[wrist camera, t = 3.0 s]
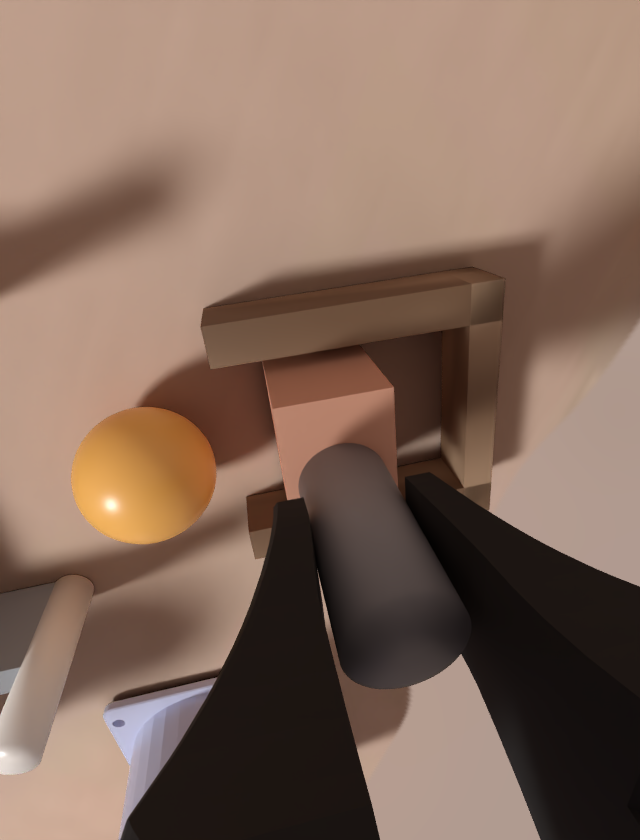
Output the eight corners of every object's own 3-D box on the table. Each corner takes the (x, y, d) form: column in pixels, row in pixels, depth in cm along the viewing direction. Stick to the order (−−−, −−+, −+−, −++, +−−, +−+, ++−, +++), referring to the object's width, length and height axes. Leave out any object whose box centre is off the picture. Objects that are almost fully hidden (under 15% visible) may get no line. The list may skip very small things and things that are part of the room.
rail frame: (464, 478, 19) (489, 509, 17) (252, 522, 18) (255, 559, 16) (472, 266, 15) (505, 278, 13) (203, 308, 14) (200, 326, 12)
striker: (364, 468, 18) (481, 707, 10) (284, 484, 17) (335, 746, 9) (354, 338, 15) (496, 513, 7) (260, 354, 15) (303, 555, 7)
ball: (227, 479, 17) (228, 557, 14) (112, 501, 17) (83, 588, 13) (202, 376, 15) (196, 435, 12) (72, 397, 15) (25, 467, 11)
